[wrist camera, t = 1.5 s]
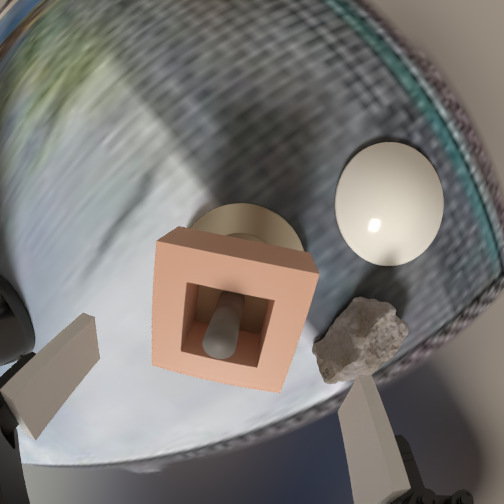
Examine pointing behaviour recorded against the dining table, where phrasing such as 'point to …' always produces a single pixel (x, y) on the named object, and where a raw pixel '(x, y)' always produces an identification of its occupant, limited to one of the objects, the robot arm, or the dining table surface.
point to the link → (235, 280)
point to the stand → (231, 303)
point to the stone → (359, 340)
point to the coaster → (388, 203)
